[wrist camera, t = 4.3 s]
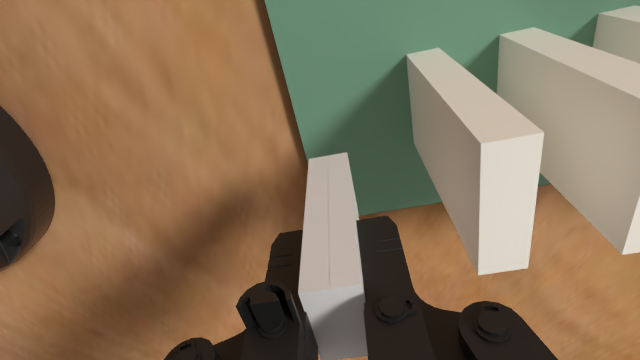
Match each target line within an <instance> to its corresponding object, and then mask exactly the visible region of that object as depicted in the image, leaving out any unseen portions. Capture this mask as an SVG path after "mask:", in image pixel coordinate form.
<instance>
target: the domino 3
mask: <svg viewBox="0 0 640 360" xmlns="http://www.w3.org/2000/svg"><path fill="white" fill-rule="evenodd" d="M593 48H596V49H599V50H601V51H604V52H607V53H610V54H613V55H616V56H619V57H622V58H625V59H627V60H630V61H633V62H636V63H639V64H640V6H631V7H626V8H621V9H617V10H612V11H607V12H603V13H599V14H598V19H597V25H596V31H595V37H594V42H593Z"/></svg>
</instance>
